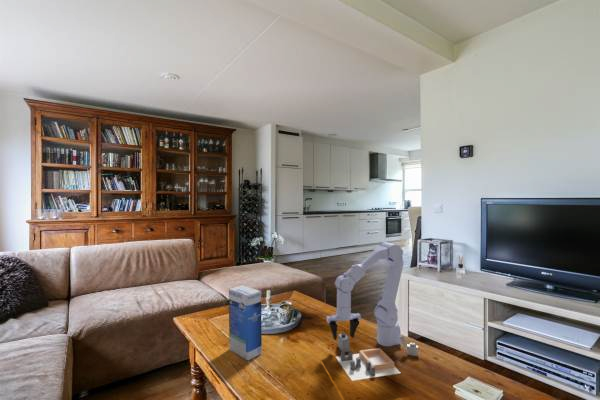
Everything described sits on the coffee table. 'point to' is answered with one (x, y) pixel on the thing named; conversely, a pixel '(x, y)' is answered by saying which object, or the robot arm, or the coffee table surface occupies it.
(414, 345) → the lighter
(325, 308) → the coffee table surface
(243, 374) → the coffee table surface
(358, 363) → the board
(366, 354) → the frame
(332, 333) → the robot arm
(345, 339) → the block
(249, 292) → the string lights box
